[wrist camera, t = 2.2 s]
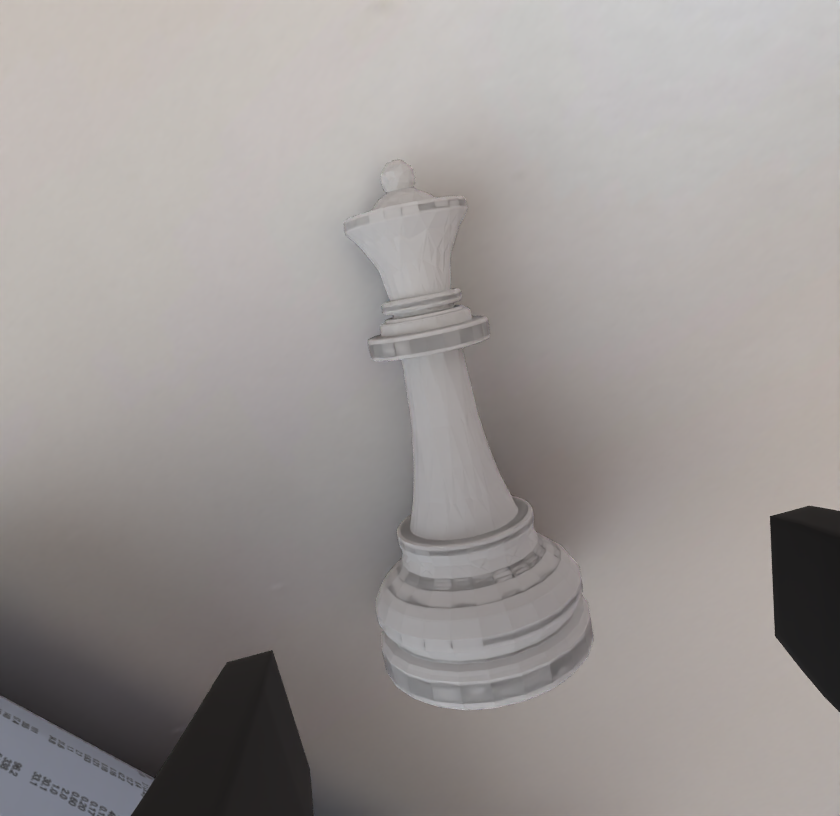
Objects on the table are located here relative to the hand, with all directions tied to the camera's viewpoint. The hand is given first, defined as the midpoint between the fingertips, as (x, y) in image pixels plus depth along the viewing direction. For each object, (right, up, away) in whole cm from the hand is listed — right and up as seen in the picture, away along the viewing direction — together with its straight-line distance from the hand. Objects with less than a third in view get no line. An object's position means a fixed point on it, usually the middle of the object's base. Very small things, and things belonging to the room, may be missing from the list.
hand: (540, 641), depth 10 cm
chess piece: (0, -2, +5) cm, 5 cm away
